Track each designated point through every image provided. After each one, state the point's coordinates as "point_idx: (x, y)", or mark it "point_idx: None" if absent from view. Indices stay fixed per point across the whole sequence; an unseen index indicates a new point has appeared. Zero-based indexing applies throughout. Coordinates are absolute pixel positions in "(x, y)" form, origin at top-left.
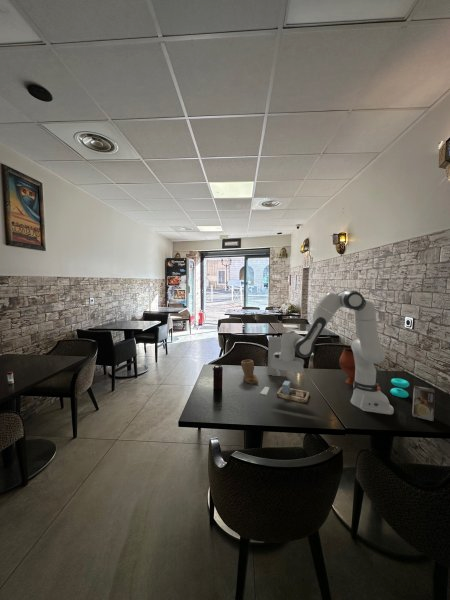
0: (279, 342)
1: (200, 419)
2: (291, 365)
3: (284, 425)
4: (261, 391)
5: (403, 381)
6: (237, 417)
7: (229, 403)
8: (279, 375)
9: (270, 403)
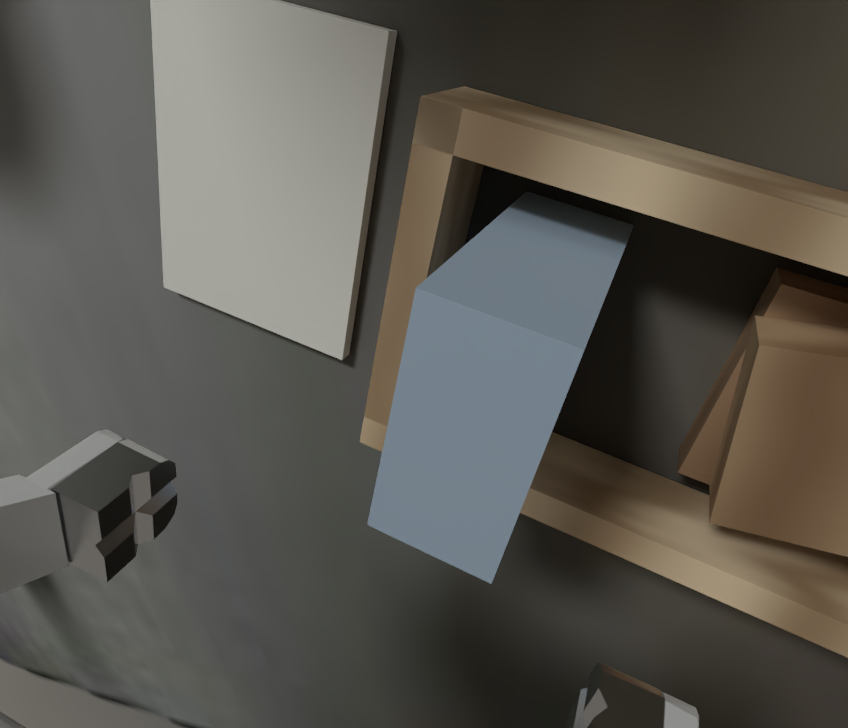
0: None
1: (33, 656)
2: None
3: None
4: (164, 227)
5: None
6: (174, 674)
7: None
8: (155, 529)
9: (343, 514)
